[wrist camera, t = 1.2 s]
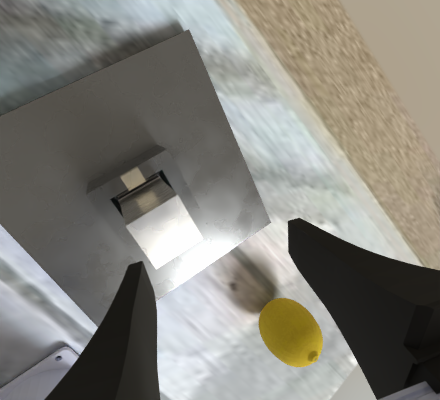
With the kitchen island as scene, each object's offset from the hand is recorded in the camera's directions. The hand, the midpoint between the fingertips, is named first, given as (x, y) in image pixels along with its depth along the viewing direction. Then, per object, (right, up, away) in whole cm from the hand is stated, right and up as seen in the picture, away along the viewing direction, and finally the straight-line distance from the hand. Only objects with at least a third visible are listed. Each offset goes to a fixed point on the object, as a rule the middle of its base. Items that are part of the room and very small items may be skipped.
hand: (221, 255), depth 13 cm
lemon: (+5, -9, +19) cm, 21 cm away
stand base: (-7, +3, +9) cm, 12 cm away
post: (-6, +3, +8) cm, 11 cm away
